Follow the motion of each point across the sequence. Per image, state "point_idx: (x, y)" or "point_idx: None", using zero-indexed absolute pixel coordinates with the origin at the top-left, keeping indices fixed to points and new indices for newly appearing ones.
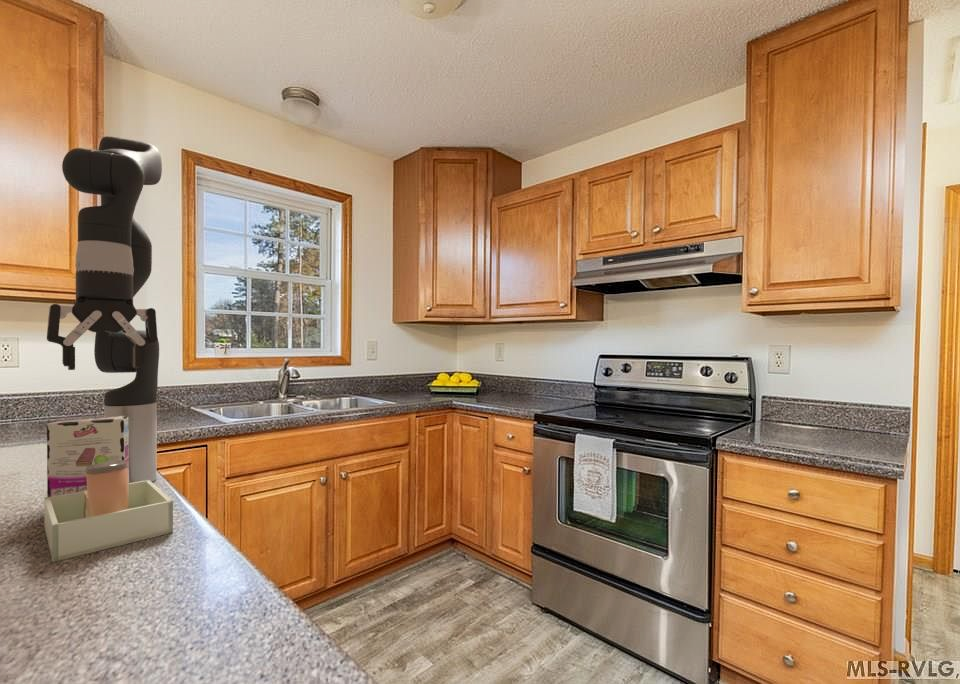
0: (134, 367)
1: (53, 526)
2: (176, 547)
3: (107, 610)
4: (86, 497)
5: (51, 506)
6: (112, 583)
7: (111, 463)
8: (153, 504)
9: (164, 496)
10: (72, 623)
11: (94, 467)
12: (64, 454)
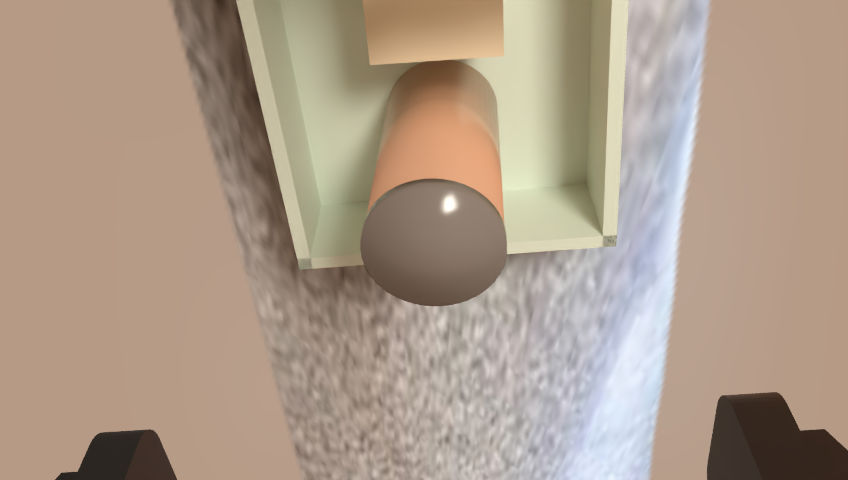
0: (711, 453)
1: (301, 268)
2: (573, 294)
3: (420, 467)
4: (368, 50)
5: (258, 42)
6: (431, 387)
7: (450, 238)
8: (558, 243)
9: (610, 176)
10: (375, 474)
11: (390, 256)
12: None
